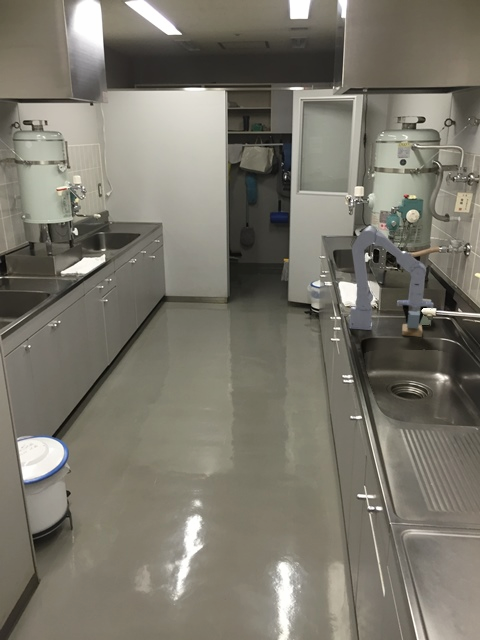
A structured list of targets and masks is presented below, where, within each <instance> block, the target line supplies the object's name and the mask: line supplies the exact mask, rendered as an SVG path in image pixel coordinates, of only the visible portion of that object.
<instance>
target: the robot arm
mask: <svg viewBox="0 0 480 640" xmlns="http://www.w3.org/2000/svg"><path fill="white" fill-rule="evenodd" d="M371 245H373V246H375V247H376V246H377V247H382V248H383V249H385V250H386V251H387V252H388V253H389V254H391V255H392V256H394V258H396V259H395V260H396V263H397V264H398V265H399V266H401V267H402V268H403V269H404V270H405V271H406V272H408V273H409V274H410V277H411V278H410V281H409V290H408V291H409V292H408V298H407V299H402V300H401V299H400V300H399V299H398V300H397V302H396V306H397V307H400V306H401V307H402V310H403V314H404V317H405V324H407V323H408V312H409V311H410V307H412V306H413V307H420V318H419V324H420V322H421V319H422V317H423V314H422V312H421V310H422V309H423V308H431V309H434V302H432V301H431V302H425V301H423V299H424V292H425V291H424V290H425V284H426V283H425V280H426V278H425V277H426V274H427V267H426V265H425V264H424V263H423V262H421V261H420V260H417V259H416V258H415V257H414V256H412V255H413V254H412V253H411V252H408V251H402V250H401V249H400V247H398V246H396V245H395V243H393V242H392V240H390V239H389V238H388V237H387V236H386V235H385V234H384V233H382V231H381V230H378V229H377V228H376V227H375V226H372V225H369V226H366V227H365V228H364V229H363V230H362V231H360V233H359V234H358V235H357V237H356V239H355V241H354V244H353V245H352V248H351V253H352V260H353V267H354V275H355V281H356V282H355V284H356V300H355V306H351V307H350V312H349V313H350V314H349V320H348V321H349V327H348V328H349V329H351V330H352V329H354V330H365V331H372V328H373V322H372V317H373V306H372V304H371V303H372V302H373V300H374V294H373V293H372V291H371V288H370V285H369V280H368V279H369V278H368V272H367V270H368V269H367V264H366V257H365V256H366V255H365V250H366V249H367V248H368V247H369V246H371Z"/></svg>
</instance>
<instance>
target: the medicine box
mask: <svg viewBox="0 0 480 640" xmlns="http://www.w3.org/2000/svg"><path fill="white" fill-rule="evenodd" d="M423 301H425V302H431V303H432V299H428V298H423ZM411 311H415V312H417V311H420V307H413V306H411Z"/></svg>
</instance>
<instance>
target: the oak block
mask: <svg viewBox="0 0 480 640" xmlns="http://www.w3.org/2000/svg"><path fill="white" fill-rule="evenodd" d="M401 335H402V336H408V337H419V338H420V337H421V338H422V337H423V326H422V325H419V326H418V329H416V328H407V323H403V324H402V327H401Z"/></svg>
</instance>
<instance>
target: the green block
mask: <svg viewBox="0 0 480 640" xmlns="http://www.w3.org/2000/svg"><path fill="white" fill-rule="evenodd" d="M417 312H419V313H420V311H417ZM429 324H430V325H431V324H432V319H431V320H428V318H427V317H425V316H424V315H423V317H422V319H421V322H420V324H419V325H429Z"/></svg>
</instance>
